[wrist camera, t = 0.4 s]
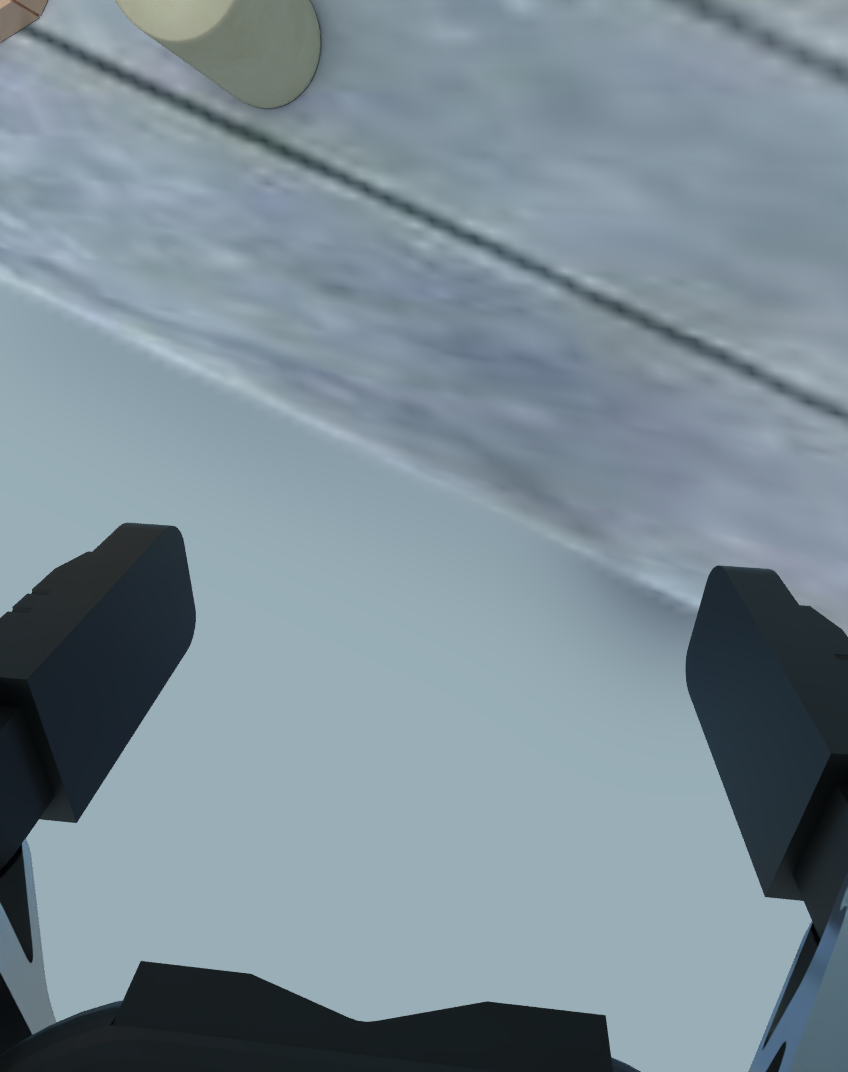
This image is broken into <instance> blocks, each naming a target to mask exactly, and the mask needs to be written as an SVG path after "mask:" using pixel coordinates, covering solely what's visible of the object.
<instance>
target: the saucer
mask: <svg viewBox="0 0 848 1072" xmlns="http://www.w3.org/2000/svg"><path fill="white" fill-rule="evenodd" d="M47 1H48V0H0V42H2V41H3V40H5V39H7V38H8V37H10V36H11V35H13V34H14V33H16V32H18V31H19V30H21V29H22V28H24V27H26V26H27V25H29V24H30V23H32V22H33V21H35V20H37V19H38V18H39V17H38V15H37V14H39V15H41V14H42V12H43V10H44V7H45V5H46V3H47Z"/></svg>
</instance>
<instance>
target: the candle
mask: <svg viewBox="0 0 848 1072" xmlns="http://www.w3.org/2000/svg"><path fill="white" fill-rule="evenodd" d="M115 1H116V3H117V4H118V6H119V8H120V9H121V10H122V12H123V13H124V14H125V16H126V17H127V18H128V19H129V20H130V21H131V22H132V23H133V24H134V25H135V26H136V27H138V28H139V29H140V30H141V31H143V32H144V33H146V34H147V35H148V36H150V37H151V38H153V39H154V40H155V41H157V42H158V43H160V44H161V45H162V46H164V47H165V48H167V49H168V50H169V51H171V52H172V53H174V54H175V55H176V56H178V57H179V58H181V59H182V60H183V61H185V62H186V63H188V64H189V65H191V66H192V67H193V68H195V69H196V70H198V71H199V72H200V73H202V74H203V75H205V76H206V77H207V78H209V79H210V80H212V81H213V82H214V83H216V84H217V85H219V86H220V87H222V88H223V89H224V90H226V91H227V92H229V93H230V94H231V95H233V96H234V97H236V98H238V99H239V100H241V101H243V102H244V103H247V104H249V105H252V106H256V107H260V108H276V107H280V106H283V105H285V104H288V103H289V102H291V101H293V100H294V99H296V98H297V97H298V96H299V95H300V94H301V93H302V92H303V91H304V90H305V89H306V87H307V86H308V84H309V83H310V81H311V79H312V77H313V76H314V73H315V70H316V68H317V64H318V61H319V55H320V43H321V40H320V30H319V24H318V20H317V17H316V14H315V11H314V8H313V6H312V4H311V2H310V0H115Z"/></svg>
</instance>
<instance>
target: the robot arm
mask: <svg viewBox="0 0 848 1072" xmlns="http://www.w3.org/2000/svg"><path fill="white" fill-rule="evenodd" d="M195 622H196V611H195V604H194V598H193V592H192V586H191V581H190V575H189V570H188V563H187V557H186V552H185V546H184V541H183V537H182V534H181V532H180V531H179V530H178V528H176V527H175V526H167V525H153V524H139V523H124V524H122V525H121V526H119V527H118V528H117V529H116V530H115V531H114V532H113V533H112V534H111V535H110V536H109V537H108V538H106V540H104V541H103V542H102V543H101V544H100V545H99V546H98V547H97V548H96V549H95V550H94V551H93V552H86V553H84V554H82V555H80V556H79V557H77V558H75V559H73V560H71V561H69V562H67V563H65V564H63V565H61V566H59V567H57V568H55V569H54V570H53V571H52V572H51V573H50V574H49V575H47V576H46V577H45V578H44V579H43V580H42V581H41V582H40V583H39V584H38V585H36V586H35V587H34V588H33V589H32V594H26V595H25V596H24V597H23V598H22V599H21V600H20V601H19V602H18V603H17V604H15V605H14V606H13V611H12V612H7V613H6V614H4V615H3V616H2V617H1V618H0V1072H640V1071H638V1070H637V1069H635V1068H633V1067H631V1066H630V1065H628V1064H625V1063H623V1062H621V1061H619V1060H616V1059H614V1058H612V1057H611V1054H610V1046H609V1038H608V1031H607V1023H606V1016H605V1015H597V1014H589V1013H581V1012H572V1011H564V1010H555V1009H546V1008H537V1007H529V1006H521V1005H512V1004H503V1003H495V1002H482V1003H476V1004H470V1005H465V1006H459V1007H454V1008H448V1009H442V1010H436V1011H431V1012H425V1013H419V1014H414V1015H409V1016H402V1017H397V1018H391V1019H386V1020H380V1021H372V1022H363V1021H356V1020H354V1019H351V1018H348V1017H346V1016H344V1015H341V1014H339V1013H337V1012H335V1011H333V1010H330V1009H328V1008H326V1007H324V1006H321V1005H319V1004H317V1003H315V1002H312V1001H310V1000H308V999H306V998H303V997H301V996H299V995H297V994H295V993H292V992H290V991H288V990H286V989H283V988H281V987H279V986H277V985H274V984H272V983H270V982H268V981H265V980H263V979H261V978H259V977H257V976H254V975H252V974H247V973H239V972H230V971H221V970H213V969H204V968H196V967H187V966H179V965H170V964H161V963H153V962H145V961H141V962H140V964H139V966H138V969H137V971H136V973H135V975H134V977H133V980H132V982H131V984H130V986H129V988H128V991H127V993H126V995H125V997H124V1000H123V1001H118V1002H114V1003H110V1004H107V1005H103V1006H100V1007H97V1008H93V1009H90V1010H87V1011H84V1012H81V1013H78V1014H76V1015H73V1016H71V1017H69V1018H66V1019H64V1020H61V1021H59V1022H57V1023H56V1020H55V1017H54V1013H53V1011H52V1007H51V1003H50V999H49V995H48V991H47V985H46V979H45V971H44V963H43V954H42V945H41V937H40V928H39V919H38V911H37V902H36V893H35V885H34V876H33V868H32V858H31V852H30V848H29V845H28V843H27V841H26V837H27V836H28V834H29V833H30V831H31V830H32V828H33V827H34V826H35V824H36V823H37V821H38V820H39V819H43V820H53V821H62V822H73V823H77V822H78V820H79V818H80V817H81V815H82V814H83V812H84V810H85V809H86V807H87V806H88V804H89V803H90V801H91V800H92V798H93V797H94V795H95V793H96V792H97V790H98V789H99V787H100V786H101V784H102V783H103V781H104V779H105V778H106V776H107V775H108V773H109V772H110V770H111V769H112V767H113V765H114V764H115V762H116V761H117V759H118V758H119V756H120V754H121V753H122V751H123V750H124V748H125V747H126V745H127V744H128V742H129V740H130V739H131V737H132V736H133V734H134V733H135V731H136V729H137V728H138V726H139V725H140V723H141V722H142V720H143V719H144V717H145V715H146V714H147V712H148V711H149V709H150V707H151V706H152V705H153V703H154V701H155V700H156V698H157V697H158V695H159V694H160V692H161V691H162V689H163V687H164V686H165V684H166V683H167V681H168V679H169V678H170V677H171V675H172V673H173V672H174V670H175V668H176V667H177V665H178V664H179V662H180V661H181V659H182V658H183V656H184V655H185V653H186V652H187V650H188V648H189V646H190V644H191V641H192V638H193V634H194V630H195ZM686 682H687V687H688V691H689V694H690V697H691V700H692V702H693V705H694V708H695V711H696V713H697V716H698V719H699V721H700V724H701V727H702V729H703V732H704V735H705V737H706V740H707V743H708V745H709V748H710V751H711V753H712V756H713V759H714V761H715V764H716V767H717V769H718V772H719V775H720V777H721V780H722V782H723V785H724V788H725V791H726V793H727V796H728V799H729V801H730V804H731V807H732V809H733V812H734V815H735V818H736V820H737V822H738V826H739V828H740V831H741V834H742V836H743V839H744V842H745V844H746V847H747V850H748V852H749V855H750V858H751V860H752V863H753V866H754V868H755V871H756V874H757V876H758V879H759V882H760V885H761V887H762V890H763V893H764V895H765V897H771V898H781V899H791V900H800V901H804V903H805V905H806V907H807V910H808V912H809V914H810V917H811V919H812V922H811V924H810V926H809V927H808V929H807V931H806V933H805V935H804V937H803V939H802V942H801V944H800V947H799V949H798V952H797V954H796V956H795V959H794V961H793V964H792V966H791V969H790V971H789V974H788V976H787V978H786V981H785V983H784V986H783V988H782V991H781V993H780V996H779V998H778V1001H777V1003H776V1006H775V1008H774V1010H773V1013H772V1015H771V1018H770V1021H769V1023H768V1025H767V1028H766V1030H765V1033H764V1035H763V1037H762V1040H761V1042H760V1045H759V1047H758V1050H757V1052H756V1055H755V1057H754V1060H753V1062H752V1064H751V1067H750V1069H749V1071H748V1072H848V637H847V635H846V634H845V633H844V631H843V630H842V629H841V628H839V627H838V626H836V625H835V624H834V623H832V622H831V621H830V620H828V619H827V618H825V617H824V616H823V615H821V614H820V613H819V612H817V611H816V610H814V609H813V608H812V607H810V606H800V605H799V604H798V603H797V601H796V600H795V599H794V597H793V596H792V594H791V593H790V592H789V590H788V589H787V587H786V586H785V584H784V583H783V582H782V580H781V579H780V577H779V576H778V575H777V573H776V572H775V571H773V570H771V569H760V568H746V567H732V566H716V567H714V568H713V569H712V571H711V572H710V574H709V577H708V579H707V582H706V586H705V590H704V593H703V597H702V600H701V604H700V607H699V611H698V614H697V618H696V622H695V625H694V629H693V632H692V636H691V639H690V643H689V646H688V651H687V656H686Z"/></svg>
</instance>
